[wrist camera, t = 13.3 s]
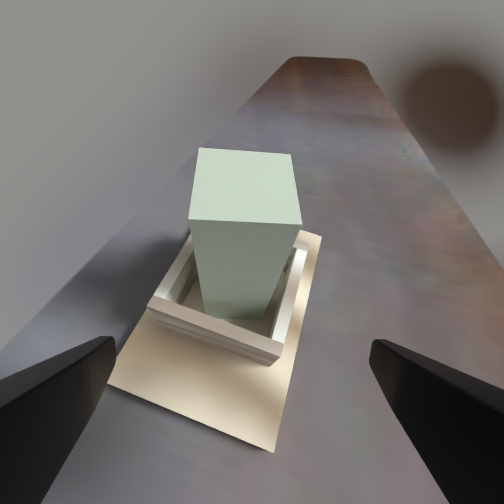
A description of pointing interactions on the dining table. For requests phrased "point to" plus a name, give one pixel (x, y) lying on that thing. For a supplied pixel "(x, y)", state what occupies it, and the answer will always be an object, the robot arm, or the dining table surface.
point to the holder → (219, 350)
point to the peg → (242, 228)
